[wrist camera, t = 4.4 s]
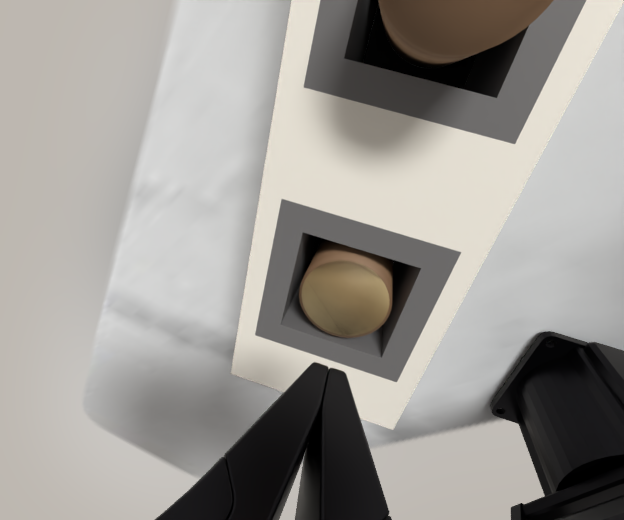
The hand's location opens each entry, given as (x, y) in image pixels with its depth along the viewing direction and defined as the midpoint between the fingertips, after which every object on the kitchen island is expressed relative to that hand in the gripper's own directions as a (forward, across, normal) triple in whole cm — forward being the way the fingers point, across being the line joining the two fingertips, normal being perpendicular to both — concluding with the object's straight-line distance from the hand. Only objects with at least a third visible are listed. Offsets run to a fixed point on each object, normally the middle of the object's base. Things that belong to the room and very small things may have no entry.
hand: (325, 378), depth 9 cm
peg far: (+11, 0, +1) cm, 11 cm away
